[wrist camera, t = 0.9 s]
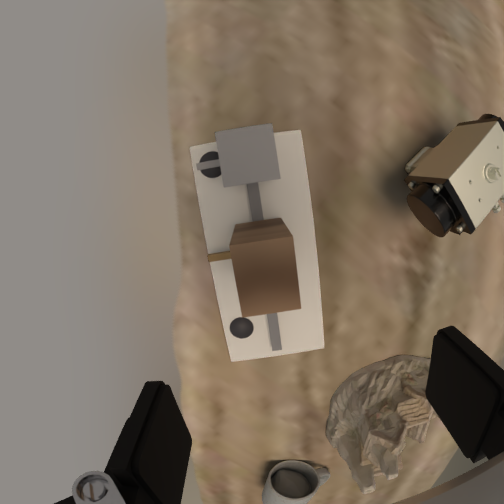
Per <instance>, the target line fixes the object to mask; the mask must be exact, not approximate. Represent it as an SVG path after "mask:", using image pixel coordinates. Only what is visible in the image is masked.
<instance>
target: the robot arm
mask: <svg viewBox="0 0 504 504" xmlns="http://www.w3.org/2000/svg"><path fill="white" fill-rule="evenodd" d="M425 395H426V398H427V400H428V402H429V403H430V405H431V406H432V407H433V409H434V410H435V412H436V413H437V415H438V416H439V418H440V419H441V421H442V422H443V424H444V425H445V427H446V428H447V430H448V431H449V433H450V434H451V436H452V437H453V439H454V440H455V442H456V443H457V445H458V446H459V448H460V449H461V451H462V452H463V454H464V455H465V457H466V458H470V459H471V460H472V462H473V463H475V462H477V461H479V460H481V459H483V458H484V457H485V456H486V457H487V458H488V459H489V460H488V461H487V462H485V463H483V464H481V465H480V466H477V467H475V468H474V469H472V470H470V471H468V472H466V473H464V474H462V475H460V476H458V477H456V478H454V479H452V480H450V481H448V482H446V483H443V484H441V485H439V486H437V487H434V488H432V489H430V490H427V491H425V492H422V493H420V494H417V495H415V496H412V497H409V498H407V499H404V500H401V501H398V502H396V503H393V504H504V370H503V369H502V368H500V367H499V366H498V365H497V364H496V363H495V362H494V361H493V360H492V359H491V358H490V357H488V356H487V355H486V354H485V353H484V352H483V351H482V350H481V349H480V348H478V347H477V346H476V345H475V344H474V343H473V342H472V341H470V340H469V339H468V338H467V337H466V336H465V335H464V334H462V333H461V332H460V331H459V330H458V329H457V328H455V327H454V326H449V327H446V328H443V329H440V330H438V332H437V335H435V336H434V339H433V347H432V354H431V361H430V368H429V374H428V379H427V385H426V390H425ZM191 446H192V438H191V435H190V433H189V430H188V428H187V426H186V424H185V421H184V419H183V417H182V414H181V412H180V410H179V407H178V405H177V403H176V400H175V398H174V395H173V393H172V390H171V388H170V386H169V385H165V383H164V382H163V381H150V382H149V381H148V382H146V383H145V385H144V387H143V389H142V391H141V394H140V396H139V398H138V400H137V402H136V405H135V407H134V409H133V412H132V413H131V416H130V418H128V419H127V421H126V423H125V425H124V427H123V429H122V431H121V434H120V436H119V438H118V441H117V443H116V445H115V447H114V450H113V452H112V454H111V457H110V459H109V461H108V464H107V466H106V468H105V471H104V472H100V471H91V472H87V473H85V474H83V475H81V476H80V477H78V478H77V479H76V481H75V482H74V484H73V487H72V493H73V496H70V497H68V498H66V499H64V500H61V501H59V502H57V503H54V504H181V499H182V494H183V488H184V483H185V477H186V471H187V466H188V461H189V456H190V451H191Z"/></svg>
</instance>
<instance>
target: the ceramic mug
mask: <svg viewBox="0 0 504 504" xmlns="http://www.w3.org/2000/svg"><path fill="white" fill-rule="evenodd" d="M329 477H330V473H329V472H328V470H327V469H326V468H323V467H322V468H318V469H314V468H313V467H312V466H311V465H309V464H307V463H305V462H302V461H298V460H286V461H282V462H280V463H278V464H276V465H275V466H274V467H273V468H272V469H271V470H270V472H269V475H268V478H267V480H266V483H265V487H264V489H263V492H262V501H263V504H307V503H308V501H309V500H310V499H311V498H312V497H313V496H314V494H315V493H316V492H317V490H318V488H319V487H320V486H321V485H323V484H324V483H325V482H326V481H327V480H328V479H329Z"/></svg>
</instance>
